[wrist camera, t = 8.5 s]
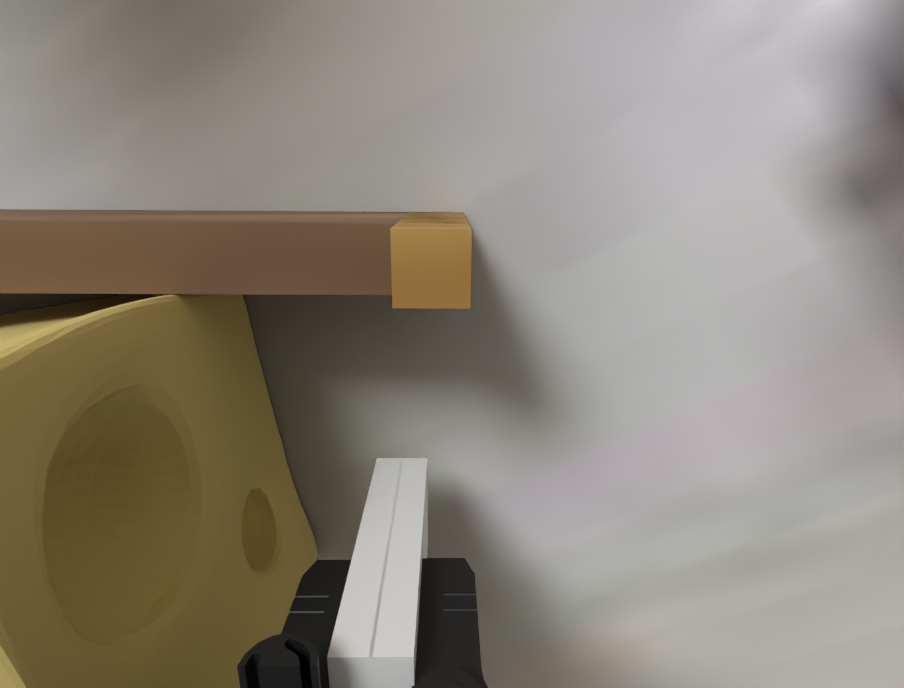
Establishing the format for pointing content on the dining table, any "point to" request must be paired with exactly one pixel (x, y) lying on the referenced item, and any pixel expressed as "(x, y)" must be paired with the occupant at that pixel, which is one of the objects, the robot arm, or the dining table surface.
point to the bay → (240, 254)
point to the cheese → (141, 495)
